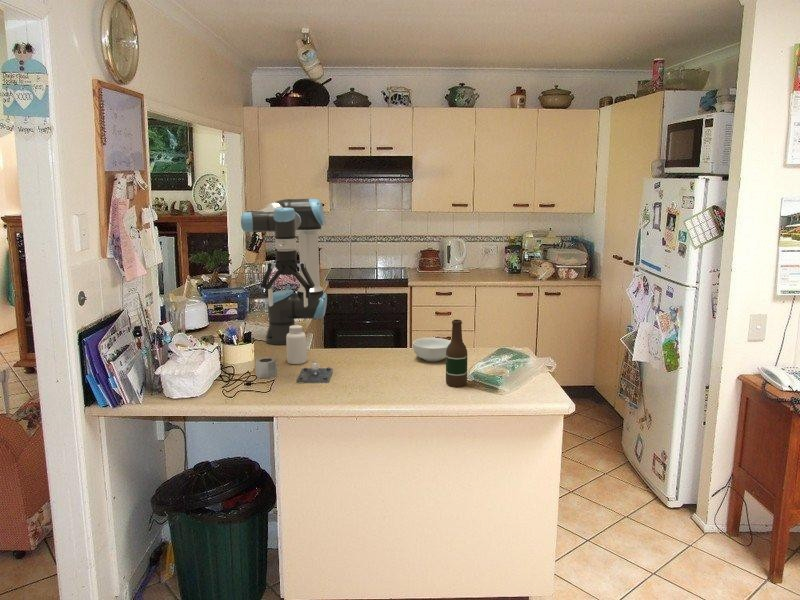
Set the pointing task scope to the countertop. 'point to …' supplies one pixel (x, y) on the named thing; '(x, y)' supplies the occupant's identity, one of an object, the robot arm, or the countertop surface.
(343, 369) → the countertop surface
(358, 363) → the countertop surface
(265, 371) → the hub
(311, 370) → the shaft stand
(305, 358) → the pill bottle
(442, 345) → the cereal bowl
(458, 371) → the beer bottle
